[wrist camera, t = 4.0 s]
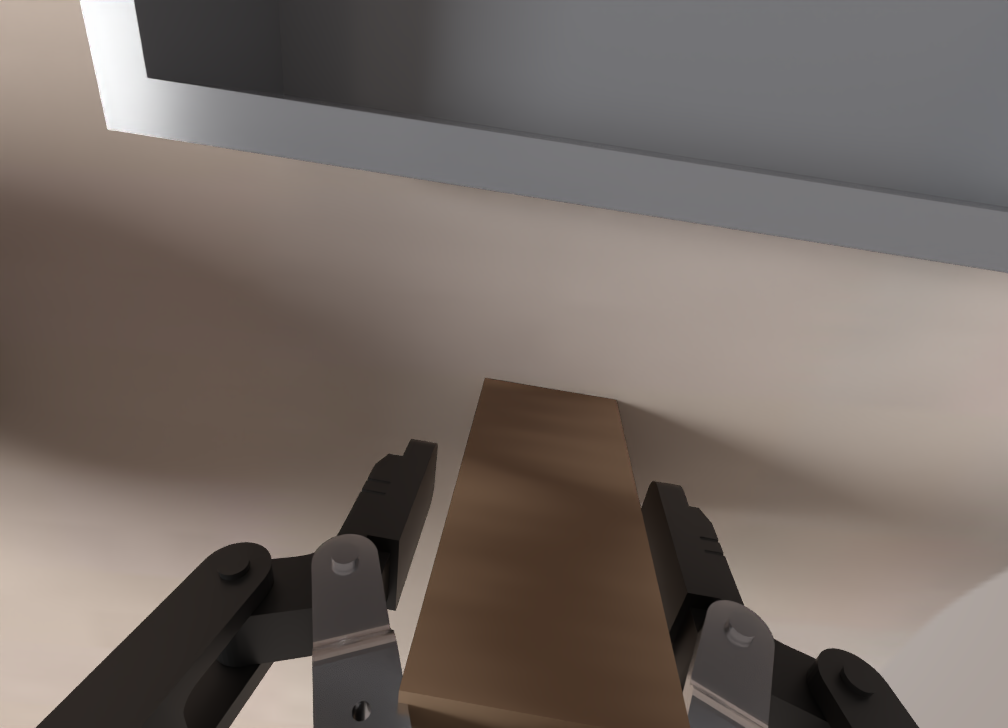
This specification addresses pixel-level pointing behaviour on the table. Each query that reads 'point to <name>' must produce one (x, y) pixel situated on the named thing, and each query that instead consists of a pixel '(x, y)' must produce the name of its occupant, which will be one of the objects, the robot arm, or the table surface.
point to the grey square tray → (606, 104)
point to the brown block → (543, 579)
